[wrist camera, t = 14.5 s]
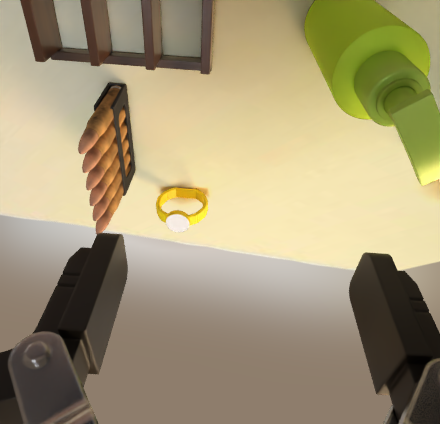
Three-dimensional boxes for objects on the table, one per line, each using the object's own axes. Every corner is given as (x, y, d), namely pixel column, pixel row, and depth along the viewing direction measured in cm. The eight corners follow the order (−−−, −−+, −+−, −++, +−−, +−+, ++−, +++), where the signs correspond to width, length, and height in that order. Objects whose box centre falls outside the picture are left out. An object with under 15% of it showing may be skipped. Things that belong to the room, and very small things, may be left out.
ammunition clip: (135, 171, 44) (108, 242, 35) (120, 170, 44) (89, 240, 35) (126, 83, 38) (89, 143, 28) (108, 82, 38) (65, 141, 28)
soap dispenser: (325, 78, 36) (388, 207, 21) (292, 13, 33) (339, 112, 18) (385, 42, 34) (504, 158, 19) (356, -31, 31) (474, 38, 15)
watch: (209, 183, 45) (205, 215, 41) (209, 201, 47) (205, 233, 42) (160, 181, 45) (151, 213, 41) (162, 199, 47) (153, 231, 42)
